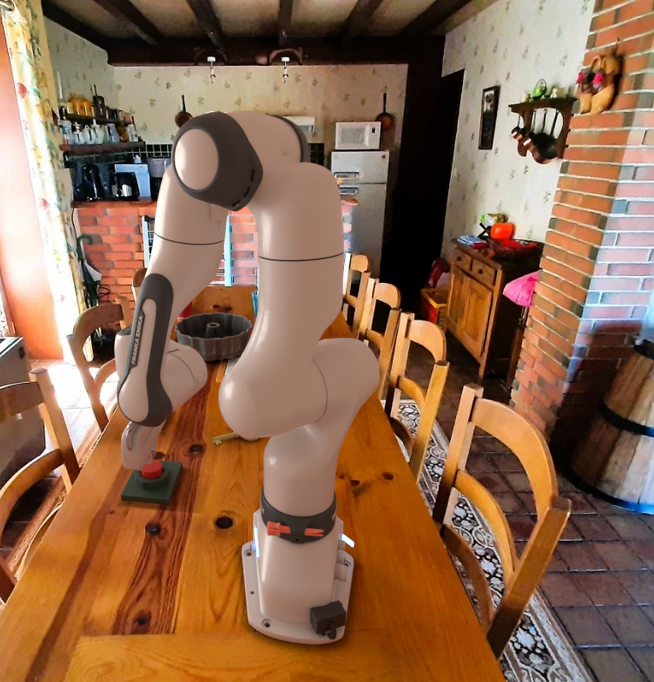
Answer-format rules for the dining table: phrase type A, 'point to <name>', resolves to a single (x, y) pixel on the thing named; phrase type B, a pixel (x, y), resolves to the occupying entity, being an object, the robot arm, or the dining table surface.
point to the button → (152, 470)
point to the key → (228, 436)
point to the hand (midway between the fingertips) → (150, 460)
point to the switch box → (153, 485)
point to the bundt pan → (215, 334)
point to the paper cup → (186, 312)
